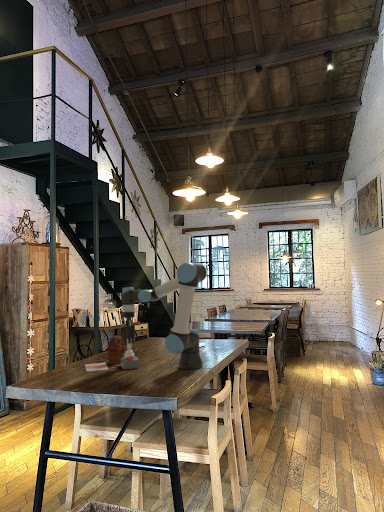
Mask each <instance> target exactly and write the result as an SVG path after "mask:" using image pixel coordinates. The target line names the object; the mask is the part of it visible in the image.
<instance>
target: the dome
mask: <svg viewBox="0 0 384 512" xmlns="http://www.w3.org/2000/svg"><path fill="white" fill-rule="evenodd" d="M123 354H124V359H128V356H133V358H134V357H135V353H134V351H133V350H132V348H131V349H127V350H125V351H124V353H123Z"/></svg>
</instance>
